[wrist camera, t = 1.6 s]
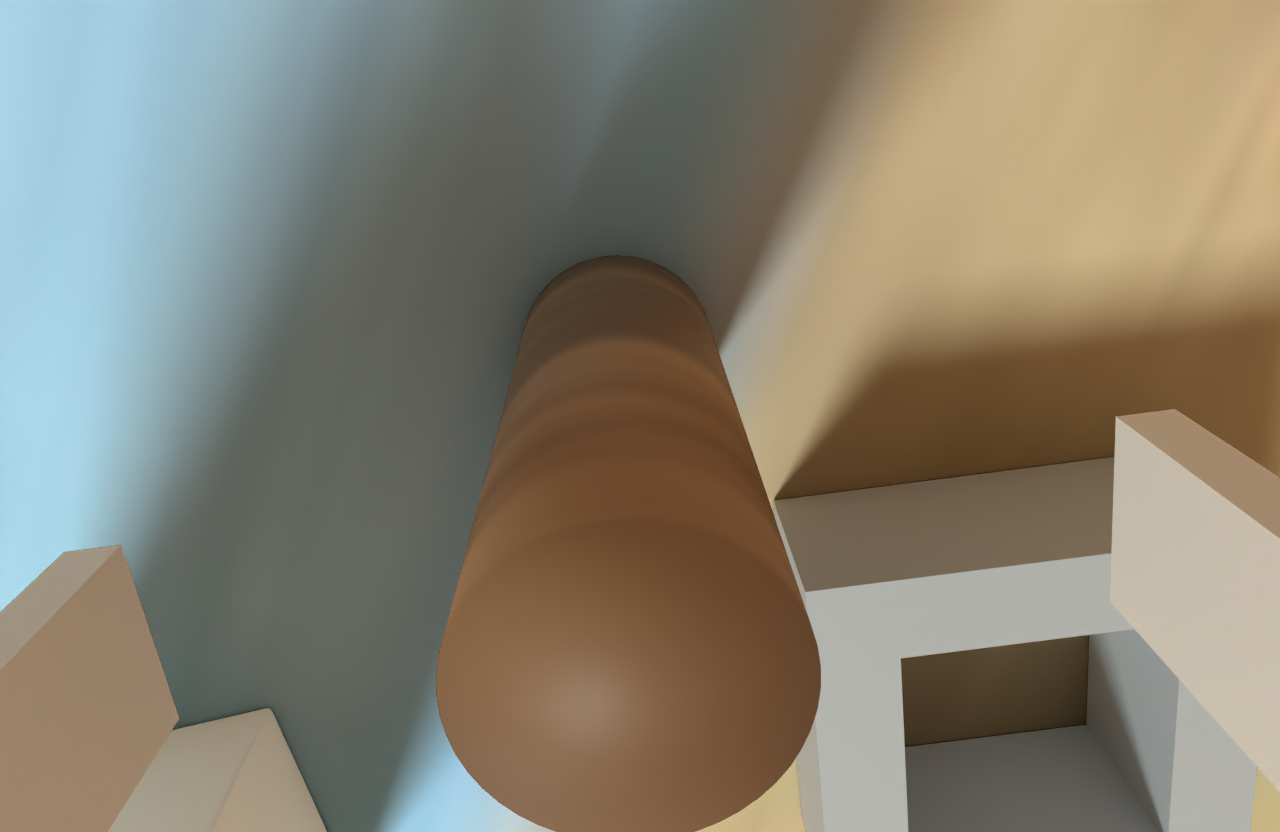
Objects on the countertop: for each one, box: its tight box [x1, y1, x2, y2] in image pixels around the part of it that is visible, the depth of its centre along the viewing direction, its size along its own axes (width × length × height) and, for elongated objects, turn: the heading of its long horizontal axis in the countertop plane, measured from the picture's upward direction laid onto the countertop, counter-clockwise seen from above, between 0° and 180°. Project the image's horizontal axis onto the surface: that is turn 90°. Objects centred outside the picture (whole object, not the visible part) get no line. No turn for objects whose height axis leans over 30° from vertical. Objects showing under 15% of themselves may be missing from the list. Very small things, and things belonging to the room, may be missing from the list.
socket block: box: [773, 457, 1257, 832], centre depth 23 cm, size 9×9×4 cm
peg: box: [436, 256, 821, 832], centre depth 16 cm, size 4×4×12 cm
